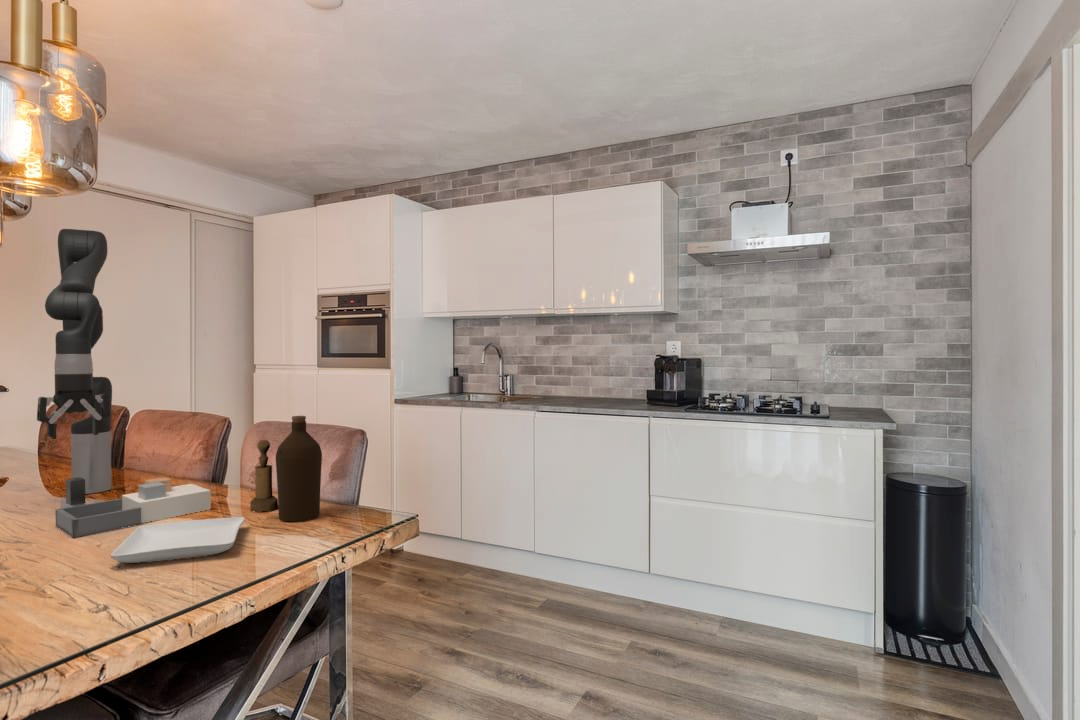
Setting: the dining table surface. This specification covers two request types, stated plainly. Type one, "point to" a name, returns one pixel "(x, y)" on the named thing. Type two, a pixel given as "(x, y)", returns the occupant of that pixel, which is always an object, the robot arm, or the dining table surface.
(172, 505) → the long rectangular box
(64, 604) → the dining table surface
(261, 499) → the brown chess piece
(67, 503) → the scraper
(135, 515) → the box
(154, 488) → the pale grey box
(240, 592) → the dining table surface
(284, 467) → the olive oil
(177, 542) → the salad plate
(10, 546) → the dining table surface
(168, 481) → the tan block
